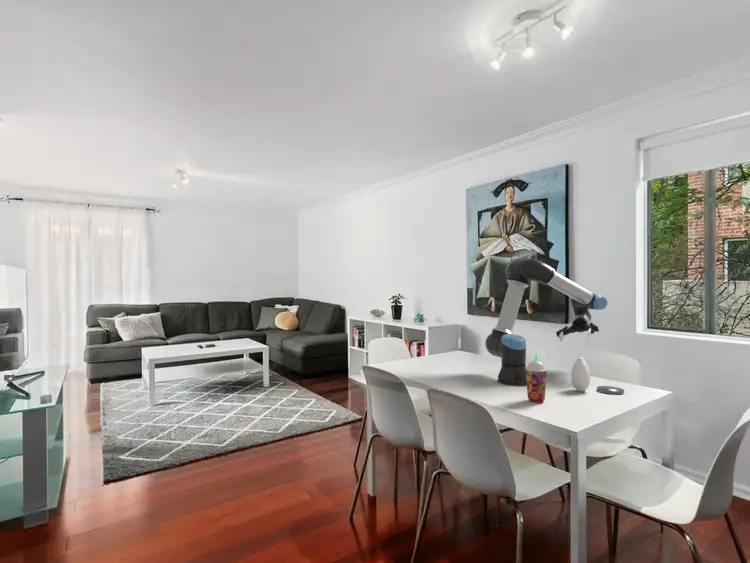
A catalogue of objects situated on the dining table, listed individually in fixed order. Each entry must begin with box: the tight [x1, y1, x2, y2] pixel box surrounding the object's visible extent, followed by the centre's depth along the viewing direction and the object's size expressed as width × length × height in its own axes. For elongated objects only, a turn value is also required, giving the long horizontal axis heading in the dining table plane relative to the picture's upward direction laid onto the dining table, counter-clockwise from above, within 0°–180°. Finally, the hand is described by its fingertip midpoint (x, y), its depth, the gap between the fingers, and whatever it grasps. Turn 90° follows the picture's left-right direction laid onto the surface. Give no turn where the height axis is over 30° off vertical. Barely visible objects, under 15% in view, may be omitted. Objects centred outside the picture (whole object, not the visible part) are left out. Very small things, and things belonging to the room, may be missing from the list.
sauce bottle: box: [570, 352, 591, 392], centre depth 197 cm, size 8×8×18 cm
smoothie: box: [526, 353, 547, 404], centre depth 180 cm, size 8×8×20 cm
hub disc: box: [596, 385, 625, 396], centre depth 197 cm, size 11×11×1 cm
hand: (574, 336), depth 214 cm, fingers open, 13 cm apart
